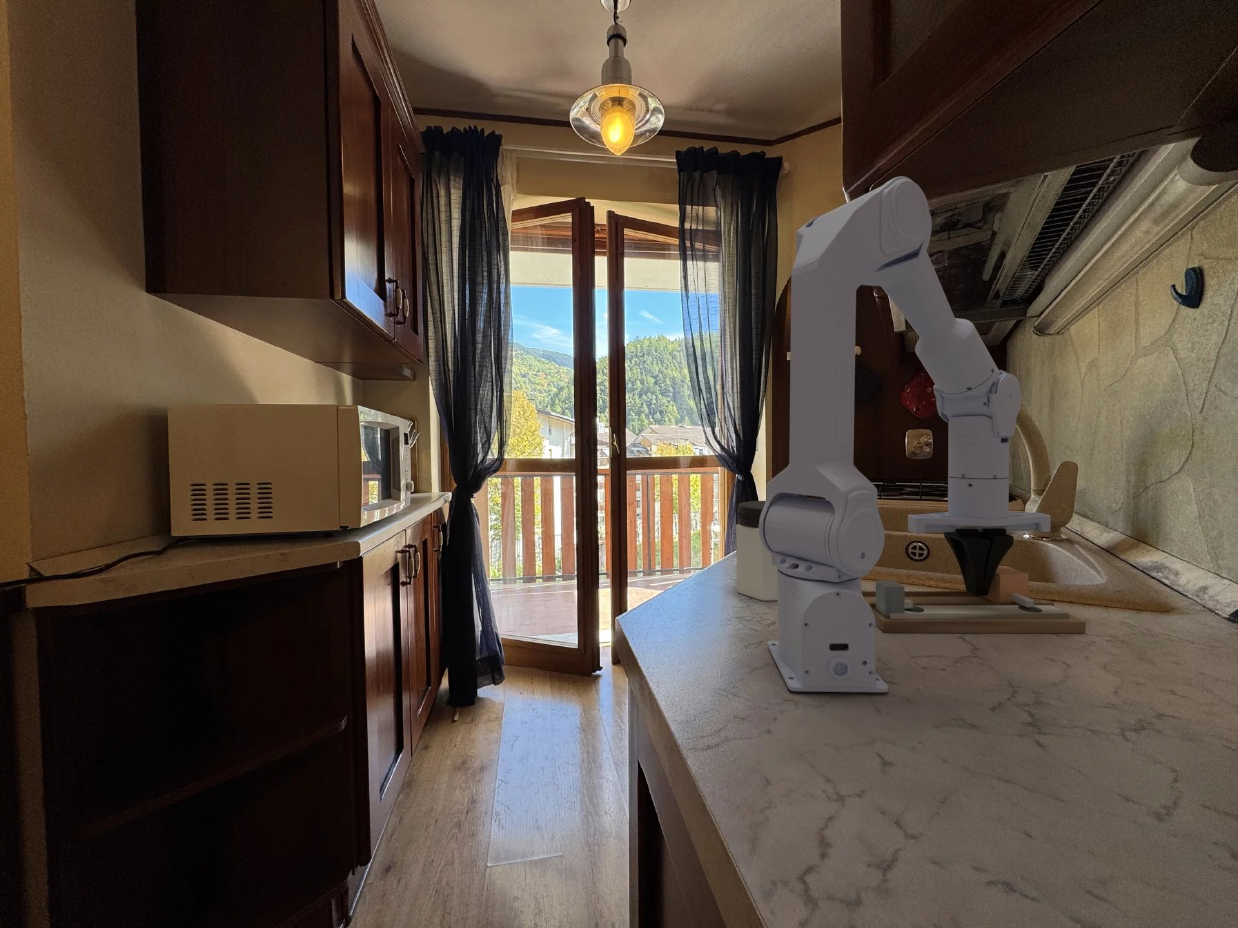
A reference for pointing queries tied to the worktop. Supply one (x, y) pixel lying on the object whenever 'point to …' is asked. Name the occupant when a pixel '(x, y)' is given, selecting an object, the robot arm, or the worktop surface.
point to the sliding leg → (1010, 587)
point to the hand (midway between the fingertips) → (976, 593)
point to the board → (973, 615)
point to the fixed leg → (890, 598)
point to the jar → (753, 556)
